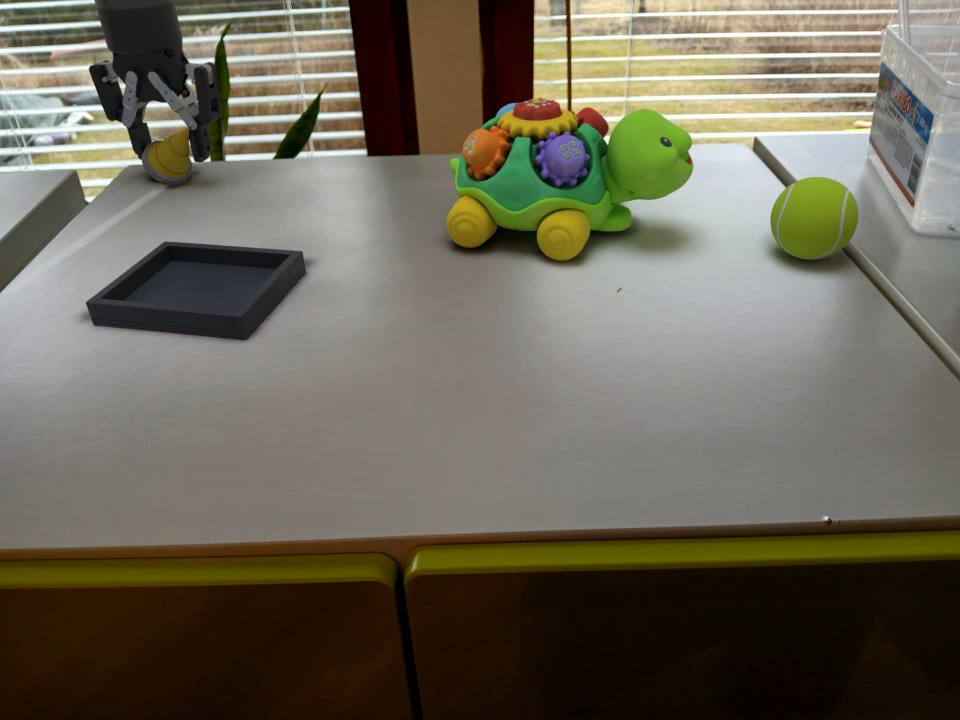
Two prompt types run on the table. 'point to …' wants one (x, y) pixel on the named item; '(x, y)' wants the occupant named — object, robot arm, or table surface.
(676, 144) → the turtle toy
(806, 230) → the tennis ball
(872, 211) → the table surface
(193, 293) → the black tray
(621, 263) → the table surface
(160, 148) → the yellow spinning top
